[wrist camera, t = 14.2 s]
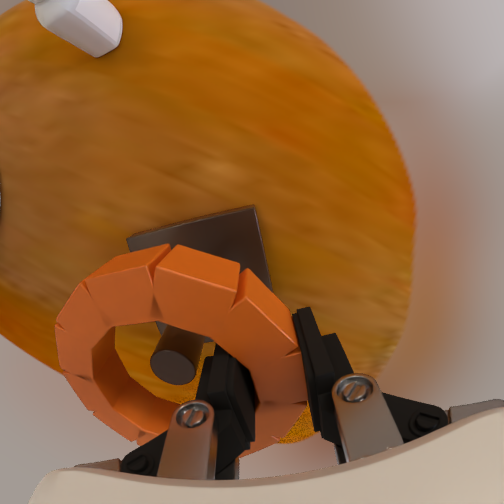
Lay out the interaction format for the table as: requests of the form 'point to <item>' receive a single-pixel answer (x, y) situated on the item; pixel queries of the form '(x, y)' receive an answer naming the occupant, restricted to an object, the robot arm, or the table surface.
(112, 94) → the table surface
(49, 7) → the eye dropper bottle
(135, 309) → the ring
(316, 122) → the table surface
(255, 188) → the table surface
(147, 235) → the post
